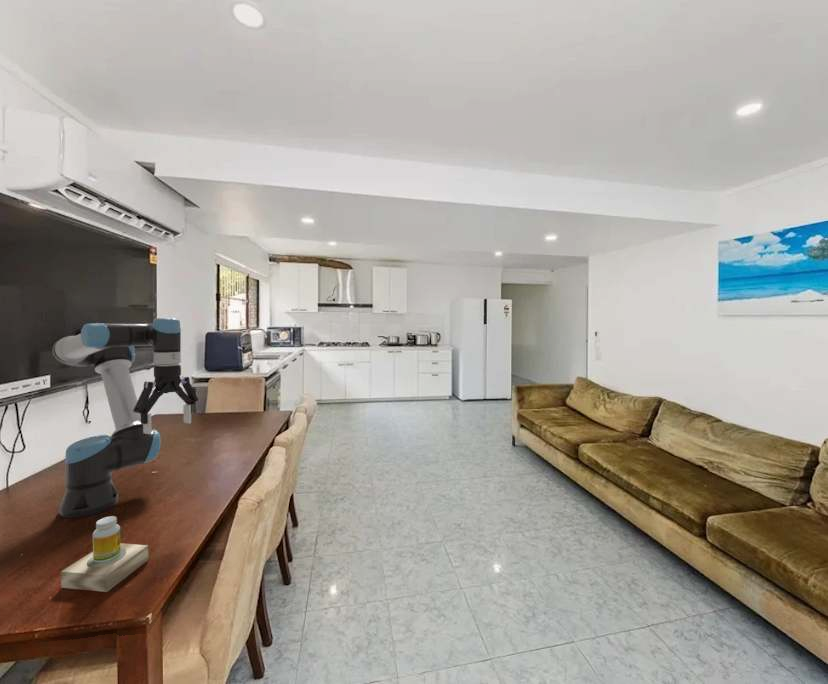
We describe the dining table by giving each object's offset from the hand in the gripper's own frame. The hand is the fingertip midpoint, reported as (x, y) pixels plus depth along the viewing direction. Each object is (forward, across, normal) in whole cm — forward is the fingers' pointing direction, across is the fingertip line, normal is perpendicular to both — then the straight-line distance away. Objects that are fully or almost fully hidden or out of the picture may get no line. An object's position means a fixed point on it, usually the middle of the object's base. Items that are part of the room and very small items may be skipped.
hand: (168, 428), depth 123 cm
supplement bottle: (+25, -27, -15) cm, 40 cm away
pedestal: (+29, -27, -15) cm, 42 cm away
